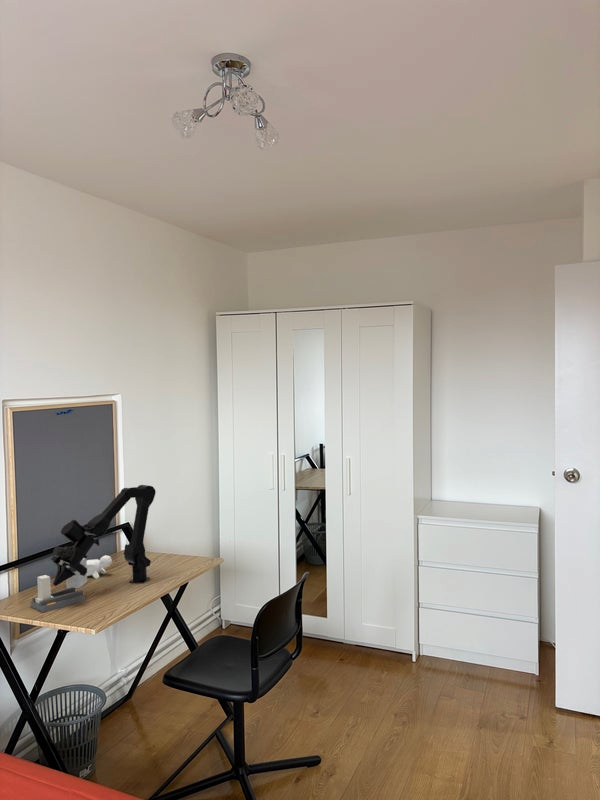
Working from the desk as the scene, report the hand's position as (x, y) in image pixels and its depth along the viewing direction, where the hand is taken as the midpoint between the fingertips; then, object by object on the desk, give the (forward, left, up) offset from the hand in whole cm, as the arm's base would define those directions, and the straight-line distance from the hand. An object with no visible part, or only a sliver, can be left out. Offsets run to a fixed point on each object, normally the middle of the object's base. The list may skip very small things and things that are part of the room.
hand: (54, 585), depth 226 cm
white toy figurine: (-36, -2, -7) cm, 37 cm away
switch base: (-1, +1, -7) cm, 7 cm away
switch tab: (+3, -2, -5) cm, 6 cm away
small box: (-23, -3, -7) cm, 24 cm away
